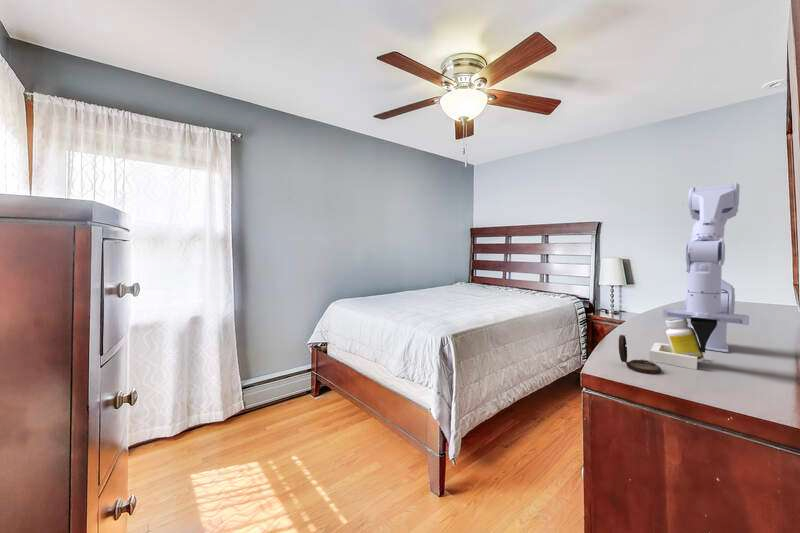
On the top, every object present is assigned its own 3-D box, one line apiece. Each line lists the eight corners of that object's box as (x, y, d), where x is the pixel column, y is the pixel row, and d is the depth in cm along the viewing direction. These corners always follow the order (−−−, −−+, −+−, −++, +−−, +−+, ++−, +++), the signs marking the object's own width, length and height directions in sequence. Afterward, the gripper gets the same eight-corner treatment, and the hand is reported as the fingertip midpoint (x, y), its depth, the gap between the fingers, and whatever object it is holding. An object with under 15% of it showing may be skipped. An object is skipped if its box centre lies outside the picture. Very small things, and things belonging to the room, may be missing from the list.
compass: (660, 376, 70) (662, 343, 70) (616, 368, 75) (617, 336, 75) (662, 366, 76) (663, 335, 76) (621, 359, 81) (621, 330, 81)
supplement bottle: (710, 360, 75) (695, 318, 76) (682, 365, 76) (668, 323, 77) (696, 356, 80) (682, 316, 81) (671, 360, 81) (657, 321, 83)
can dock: (654, 351, 87) (655, 342, 87) (698, 358, 81) (698, 348, 81) (649, 360, 80) (649, 350, 80) (696, 369, 74) (697, 358, 74)
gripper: (661, 291, 78) (660, 348, 78) (751, 296, 68) (749, 362, 68) (664, 290, 83) (663, 343, 83) (748, 294, 73) (746, 355, 73)
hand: (701, 351), depth 76 cm, fingers closed, pressing on supplement bottle
